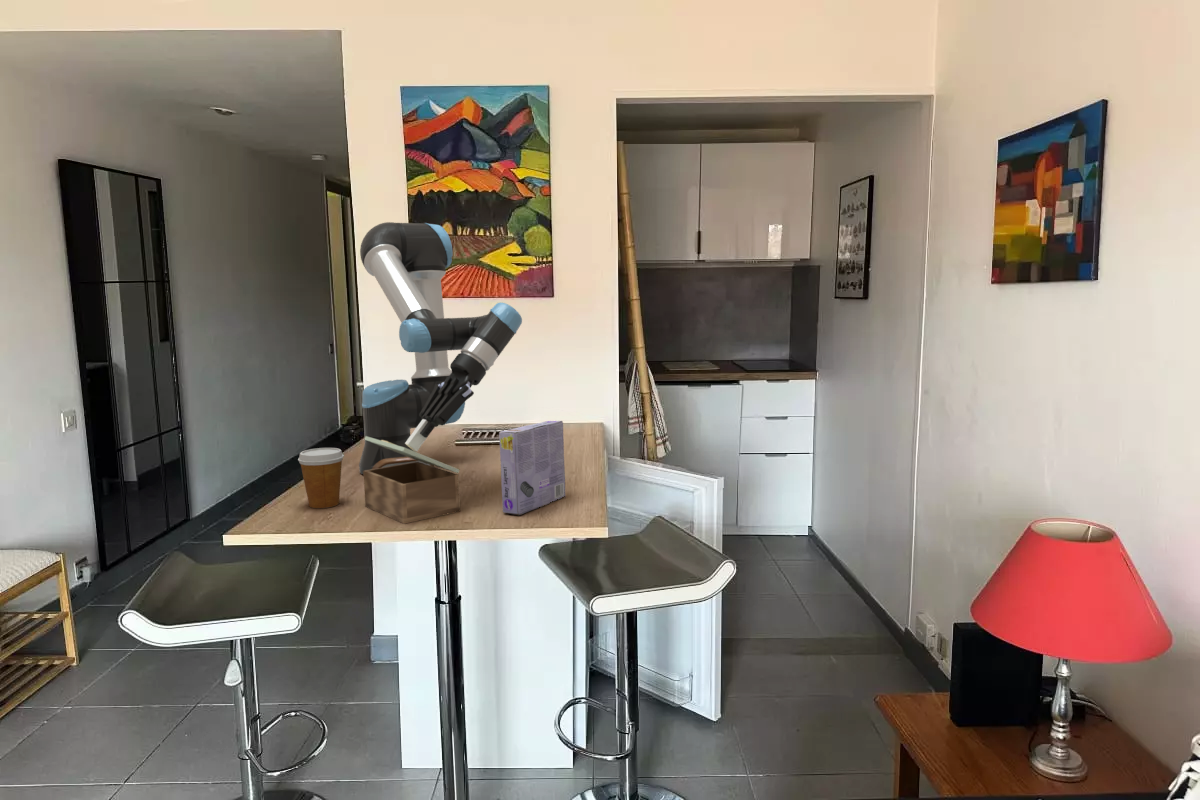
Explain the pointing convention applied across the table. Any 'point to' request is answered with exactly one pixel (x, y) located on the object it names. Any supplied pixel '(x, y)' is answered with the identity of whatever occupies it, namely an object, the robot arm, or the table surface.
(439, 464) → the lid
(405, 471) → the walnut box
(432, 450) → the table surface
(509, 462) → the cake pan box
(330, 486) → the disposable coffee cup
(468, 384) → the robot arm
